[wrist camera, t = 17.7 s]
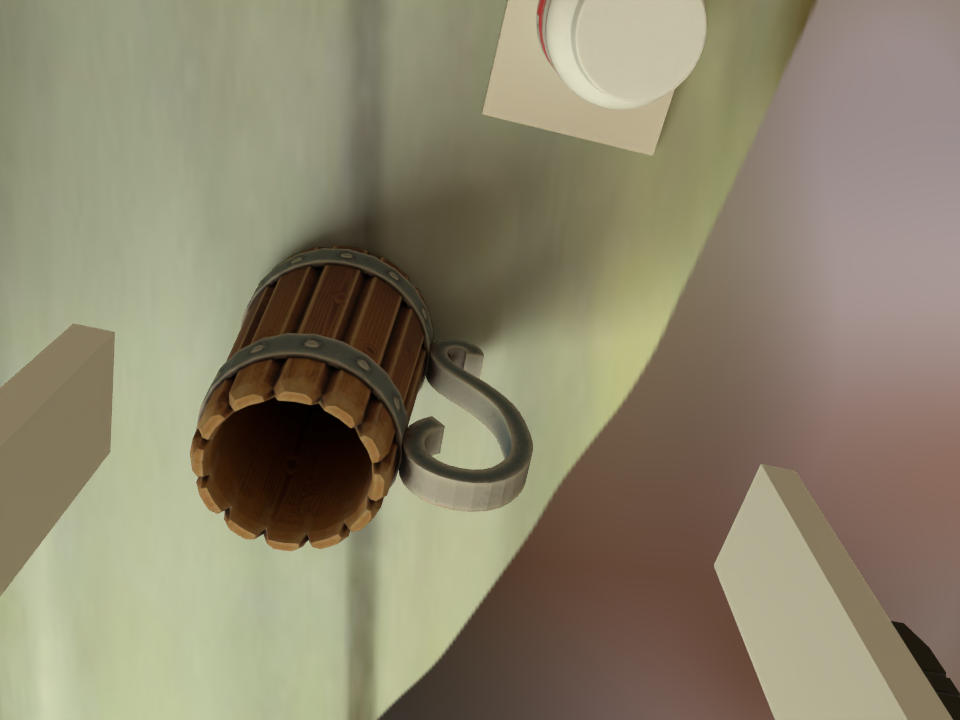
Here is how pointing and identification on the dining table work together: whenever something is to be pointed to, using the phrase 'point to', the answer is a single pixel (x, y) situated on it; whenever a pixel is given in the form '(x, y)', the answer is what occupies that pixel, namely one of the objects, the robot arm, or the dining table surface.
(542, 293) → the dining table surface
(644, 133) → the pad
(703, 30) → the pill bottle
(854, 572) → the robot arm
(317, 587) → the dining table surface
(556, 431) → the dining table surface
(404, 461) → the mug
